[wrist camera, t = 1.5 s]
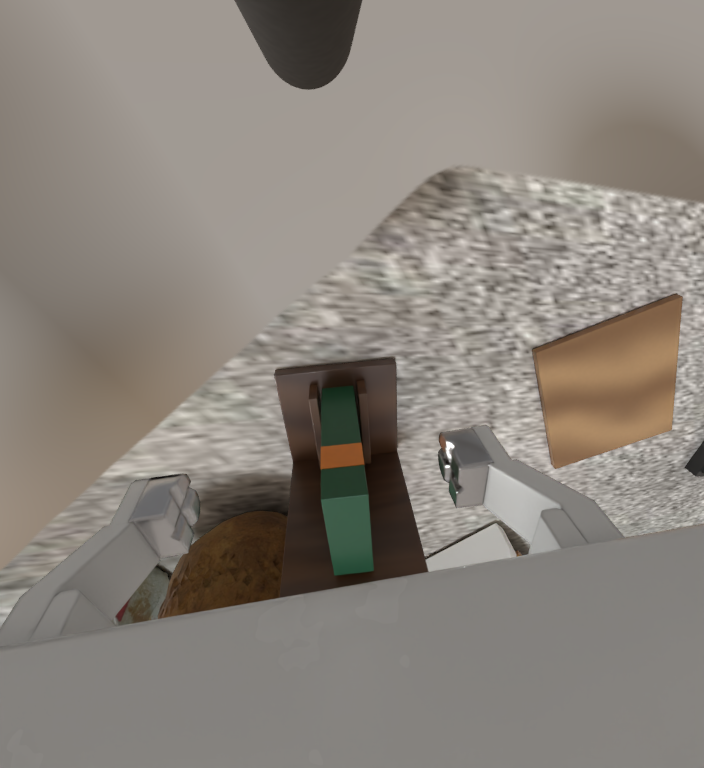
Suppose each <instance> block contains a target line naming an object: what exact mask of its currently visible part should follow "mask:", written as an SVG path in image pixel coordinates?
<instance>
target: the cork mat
mask: <svg viewBox="0 0 704 768" xmlns="http://www.w3.org/2000/svg"><path fill="white" fill-rule="evenodd" d="M682 298H683V297H682V296H680V295H677V294H675V295H672V296H669V297H667V298H664V299H662V300H659V301H657V302H654V303H651V304H649V305H646V306H644V307H641V308H638V309H636V310H633V311H631V312H628V313H626V314H623V315H620V316H618V317H615V318H613V319H610V320H608V321H605V322H602V323H600V324H597V325H595V326H592V327H589V328H587V329H584V330H582V331H579V332H577V333H574V334H571V335H569V336H566V337H564V338H561V339H559V340H556V341H553V342H551V343H548V344H546V345H543V346H540V347H538V348H535V349H533V350H532V352H533V358H534V364H535V369H536V375H537V381H538V387H539V393H540V399H541V405H542V411H543V416H544V422H545V428H546V434H547V440H548V446H549V452H550V458H551V463H552V466H553V467H554V468H555V469H556V468H559V467H562V466H565V465H568V464H571V463H574V462H577V461H580V460H583V459H586V458H589V457H592V456H595V455H598V454H601V453H604V452H607V451H610V450H613V449H616V448H619V447H622V446H625V445H628V444H631V443H634V442H637V441H640V440H643V439H646V438H649V437H652V436H655V435H658V434H661V433H664V432H667V431H670V430H672V419H673V407H674V395H675V383H676V371H677V358H678V346H679V334H680V322H681V310H682Z"/></svg>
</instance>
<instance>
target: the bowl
mask: <svg viewBox="0 0 704 768" xmlns="http://www.w3.org/2000/svg"><path fill="white" fill-rule="evenodd" d="M287 518H288V517H287V516H285V515H283V514H281V513H278V512H270V511H252V512H246V513H243V514H241V515H238V516H235V517H233V518H230V519H228V520H226V521H224V522H222V523H221V524H219V525H218V526H216V527H215V528H214V529H212V530H211V531H209V532H208V533H207V534H205V535H204V536H202V537H201V538H200V539H198V540H197V541H196V542H195V543H194V544H192V545H191V546H190V549H189V553H186V554H184V555H183V556H182V557H181V558H180V560H179V562H178V564H177V566H176V568H175V570H174V572H173V574H172V576H171V579H170V582H169V585H168V590H167V594H166V597H165V600H164V601H163V603H162V605H161V607H160V611H159V613H158V616H157V617H158V619H161V618H167V617H172V616H178V615H184V614H190V613H195V612H201V611H207V610H213V609H218V608H224V607H230V606H236V605H241V604H247V603H253V602H259V601H264V600H270V599H276V598H279V597H280V587H281V578H282V568H283V558H284V548H285V538H286V528H287Z"/></svg>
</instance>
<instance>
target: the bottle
mask: <svg viewBox="0 0 704 768" xmlns="http://www.w3.org/2000/svg"><path fill="white" fill-rule="evenodd" d="M169 582H170V580H169V578H168V574H167V573H166V572H162V571H161V570H160V569H159V568H158V567H156V566H155V567H154V569H153V570H152V571H151V572H150V574H149V575H148V576H147V577H146V579H145V580H144V581H143V582H142V584H141V585H140V586H139V587H138V589H137V590H136V591H135V592H134V594H133V595H132V596H131V597H130V599H129V600H128V601H127V602H126V603H125V605H124V606H123V607H122V608H121V610H120V611H119V612H118V613H117V615H116V616H115V617H114V618H113V620H112V622H114V623H115V624H116V625H117V626H121V625H126V624H132V623H138V622H144V621H149V620H155V619H158V617H157V616H158V613H159V611H160V607H161V605H162V603H163V601H164V600H165V597H166V594H167V590H168V585H169Z"/></svg>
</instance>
